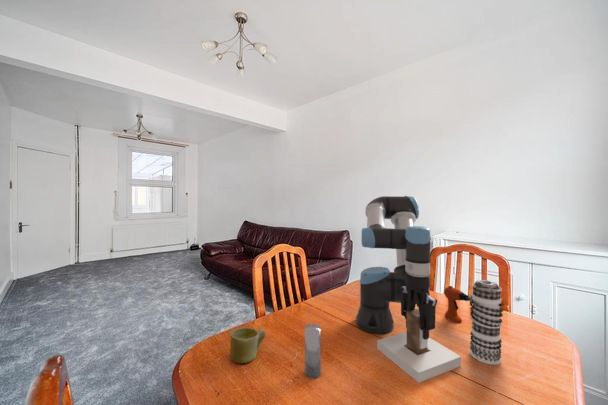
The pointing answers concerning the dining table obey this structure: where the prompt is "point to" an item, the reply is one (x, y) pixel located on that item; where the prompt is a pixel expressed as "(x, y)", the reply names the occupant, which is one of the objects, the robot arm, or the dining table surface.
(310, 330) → the round peg
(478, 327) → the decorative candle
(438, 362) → the socket plate
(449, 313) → the toy drill
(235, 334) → the mug
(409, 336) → the square peg
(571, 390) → the dining table surface
